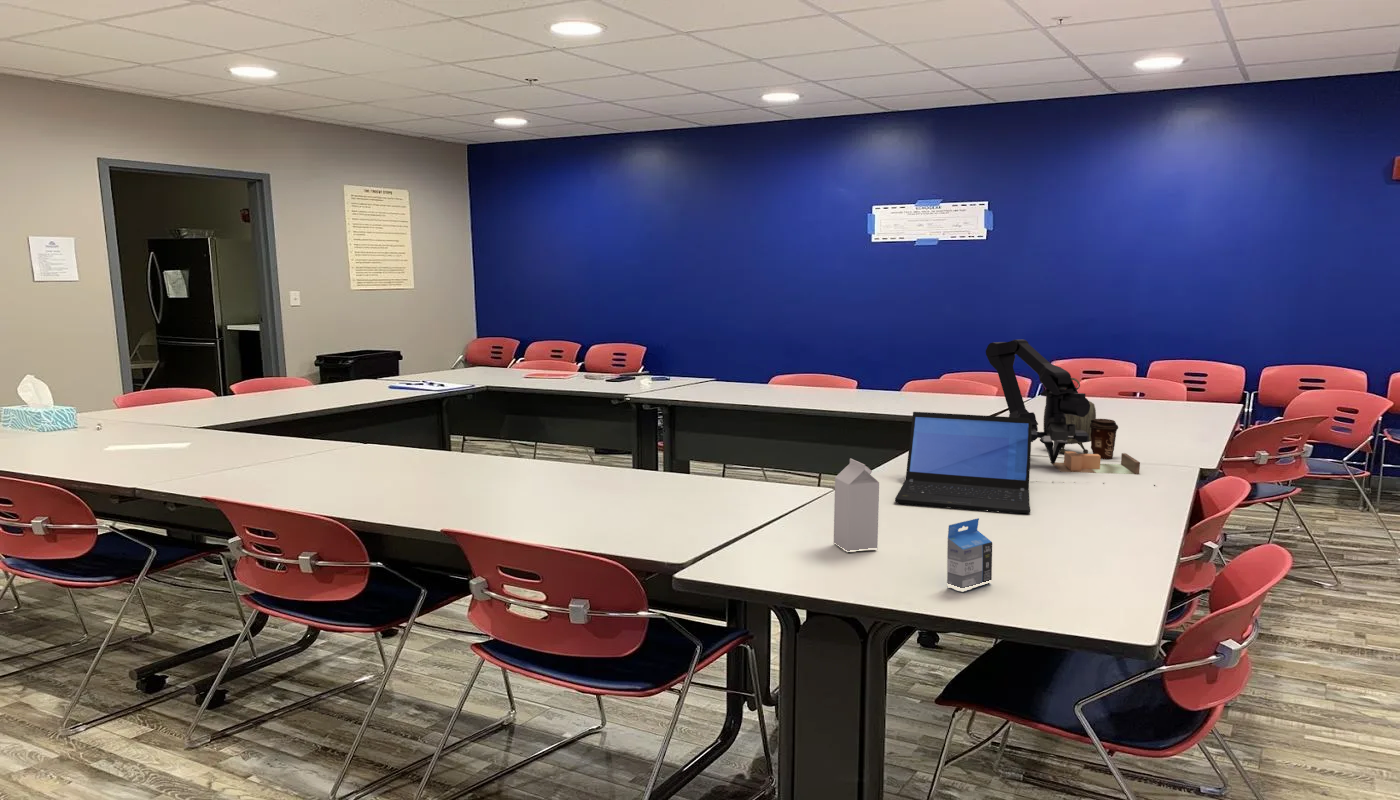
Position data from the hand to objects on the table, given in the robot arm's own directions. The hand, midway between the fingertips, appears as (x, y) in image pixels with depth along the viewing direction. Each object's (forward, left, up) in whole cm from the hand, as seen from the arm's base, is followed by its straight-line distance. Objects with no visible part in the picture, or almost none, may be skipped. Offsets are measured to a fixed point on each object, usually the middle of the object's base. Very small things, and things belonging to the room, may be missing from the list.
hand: (1052, 463), depth 285 cm
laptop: (-30, -36, -3) cm, 47 cm away
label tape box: (-39, -114, -2) cm, 121 cm away
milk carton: (-60, -92, -2) cm, 110 cm away
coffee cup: (+19, +18, -2) cm, 26 cm away
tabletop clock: (+11, +30, -2) cm, 32 cm away
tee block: (+9, 0, -1) cm, 9 cm away
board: (+12, 0, -2) cm, 12 cm away
